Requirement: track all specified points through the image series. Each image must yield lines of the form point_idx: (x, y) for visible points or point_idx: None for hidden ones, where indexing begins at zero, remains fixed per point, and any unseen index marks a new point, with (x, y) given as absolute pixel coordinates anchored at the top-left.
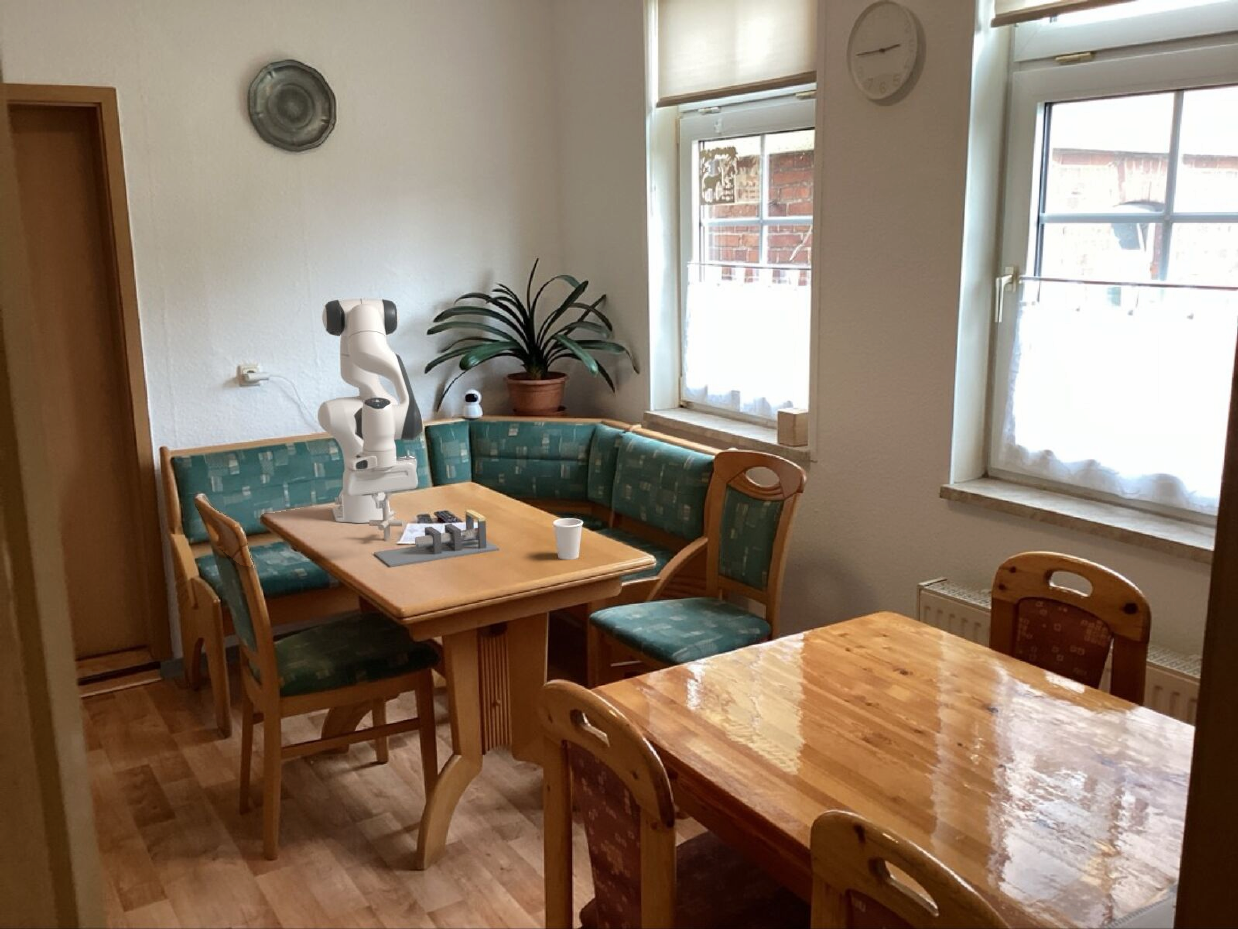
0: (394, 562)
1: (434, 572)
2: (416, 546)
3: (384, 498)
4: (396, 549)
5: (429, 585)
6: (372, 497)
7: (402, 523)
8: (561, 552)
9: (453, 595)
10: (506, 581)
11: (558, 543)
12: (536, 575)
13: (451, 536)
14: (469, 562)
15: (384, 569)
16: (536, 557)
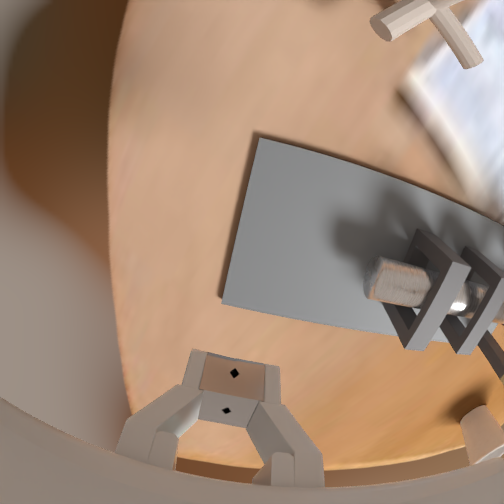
0: (246, 292)
1: (284, 389)
2: (371, 263)
3: (265, 420)
4: (343, 168)
5: (225, 424)
6: (143, 412)
7: (471, 66)
8: (463, 429)
9: (229, 457)
10: (331, 457)
11: (468, 438)
12: (378, 454)
13: (459, 316)
14: (386, 378)
15: (199, 303)
16: (459, 403)
